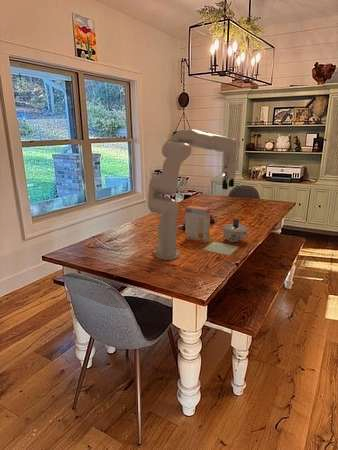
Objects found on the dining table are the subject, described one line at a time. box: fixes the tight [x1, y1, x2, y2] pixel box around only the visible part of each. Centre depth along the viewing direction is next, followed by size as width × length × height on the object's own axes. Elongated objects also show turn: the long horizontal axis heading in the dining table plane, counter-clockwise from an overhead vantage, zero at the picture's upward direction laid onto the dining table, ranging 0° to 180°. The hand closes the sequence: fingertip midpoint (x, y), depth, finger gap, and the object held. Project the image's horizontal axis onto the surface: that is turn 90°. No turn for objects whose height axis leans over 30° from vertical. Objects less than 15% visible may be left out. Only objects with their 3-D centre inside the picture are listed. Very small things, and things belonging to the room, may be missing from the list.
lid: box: [223, 217, 248, 233], centre depth 188 cm, size 14×14×6 cm
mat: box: [202, 241, 240, 256], centre depth 180 cm, size 16×15×1 cm
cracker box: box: [184, 204, 211, 244], centre depth 190 cm, size 14×6×21 cm, turn 54°
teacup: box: [222, 227, 249, 243], centre depth 190 cm, size 15×12×8 cm
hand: (228, 187), depth 195 cm, fingers open, 9 cm apart
